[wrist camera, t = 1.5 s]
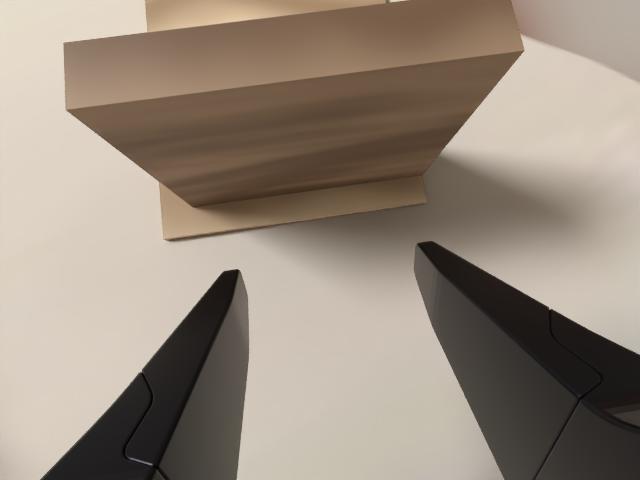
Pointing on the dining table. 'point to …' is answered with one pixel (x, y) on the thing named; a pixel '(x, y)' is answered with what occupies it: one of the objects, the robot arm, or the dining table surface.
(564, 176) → the dining table surface
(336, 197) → the light tan wooden board
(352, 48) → the brown wooden slab
